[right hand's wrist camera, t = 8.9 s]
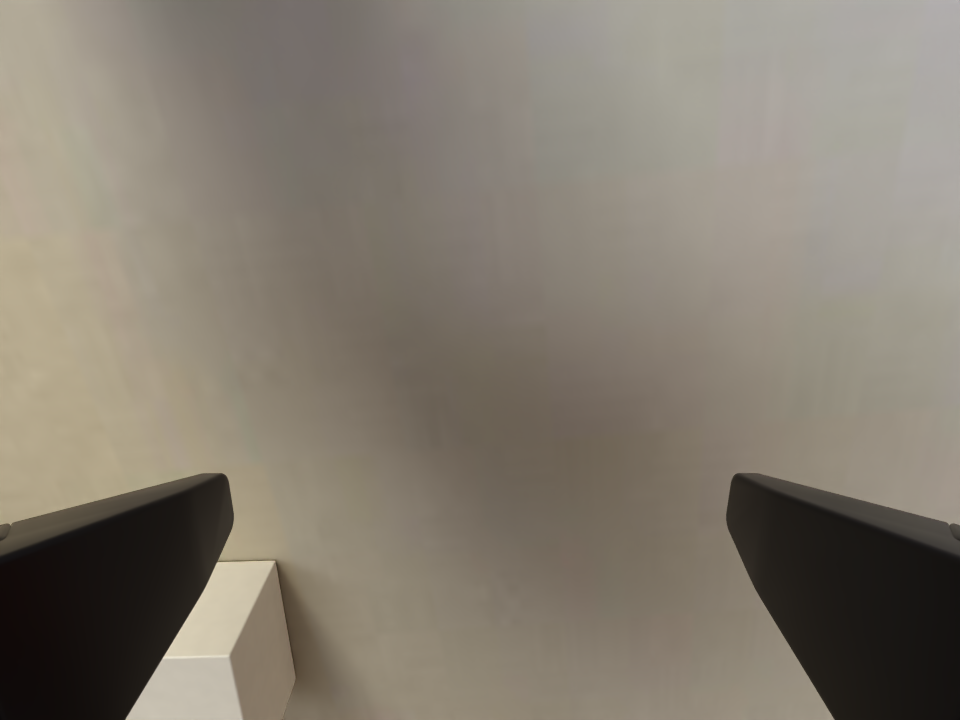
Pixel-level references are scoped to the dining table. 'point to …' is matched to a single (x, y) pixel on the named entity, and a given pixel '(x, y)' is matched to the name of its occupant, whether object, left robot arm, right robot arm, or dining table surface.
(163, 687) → the block
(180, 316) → the dining table surface
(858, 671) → the right robot arm
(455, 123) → the dining table surface
